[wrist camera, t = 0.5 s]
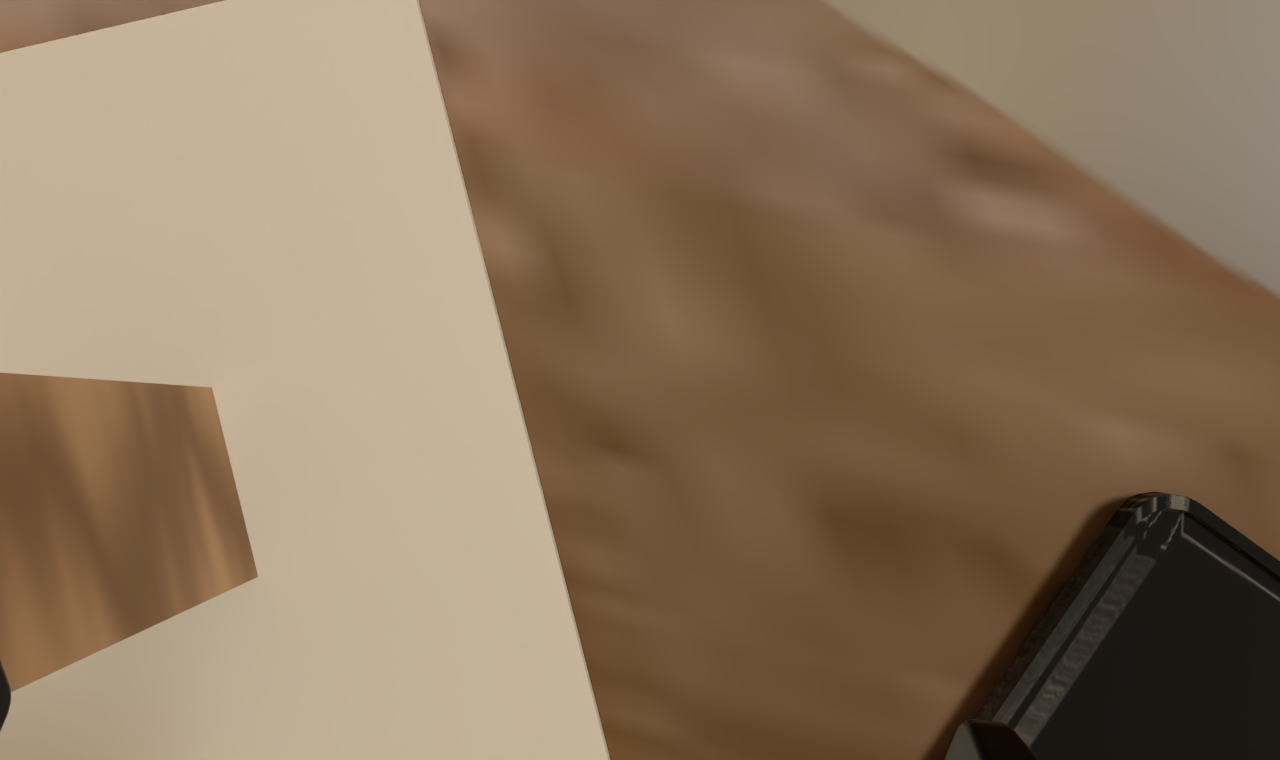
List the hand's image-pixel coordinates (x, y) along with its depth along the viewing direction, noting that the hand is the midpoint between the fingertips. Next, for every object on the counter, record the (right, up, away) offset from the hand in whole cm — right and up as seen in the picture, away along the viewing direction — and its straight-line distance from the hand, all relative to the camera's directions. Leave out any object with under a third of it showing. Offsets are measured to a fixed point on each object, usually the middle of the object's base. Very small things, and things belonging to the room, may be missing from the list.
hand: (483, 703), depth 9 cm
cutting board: (-10, 0, +14) cm, 18 cm away
